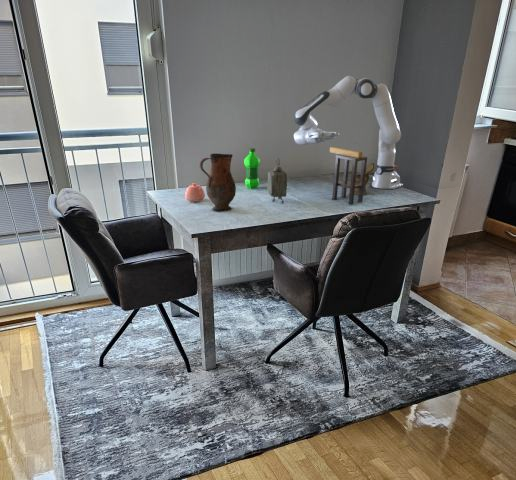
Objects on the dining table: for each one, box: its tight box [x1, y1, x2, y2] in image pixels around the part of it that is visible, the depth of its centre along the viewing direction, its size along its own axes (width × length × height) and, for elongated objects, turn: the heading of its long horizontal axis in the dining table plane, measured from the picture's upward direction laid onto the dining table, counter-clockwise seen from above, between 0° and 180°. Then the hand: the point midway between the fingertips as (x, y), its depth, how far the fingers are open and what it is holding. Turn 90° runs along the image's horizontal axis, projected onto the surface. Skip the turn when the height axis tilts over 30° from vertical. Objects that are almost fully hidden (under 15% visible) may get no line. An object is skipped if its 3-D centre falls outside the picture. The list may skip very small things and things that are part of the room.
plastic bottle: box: [243, 147, 261, 190], centre depth 313 cm, size 10×10×25 cm
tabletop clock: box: [267, 157, 288, 204], centre depth 282 cm, size 14×9×25 cm, turn 9°
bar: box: [329, 146, 363, 158], centre depth 280 cm, size 3×24×3 cm, turn 37°
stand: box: [332, 154, 368, 205], centre depth 284 cm, size 10×16×26 cm, turn 37°
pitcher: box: [199, 153, 237, 212], centre depth 264 cm, size 17×21×30 cm
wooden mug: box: [354, 162, 375, 196], centre depth 303 cm, size 9×14×18 cm, turn 115°
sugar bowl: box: [184, 182, 206, 203], centre depth 287 cm, size 12×14×10 cm
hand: (334, 134), depth 292 cm, fingers open, 8 cm apart
